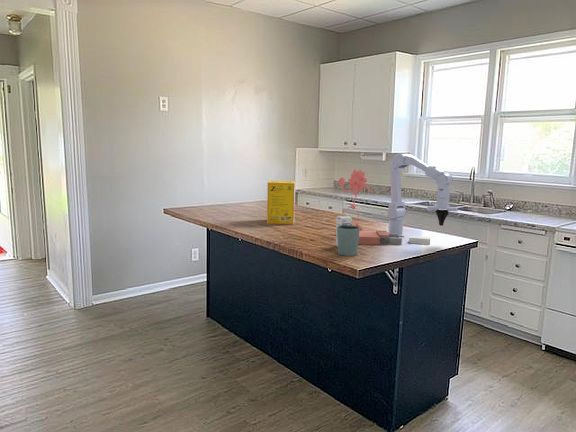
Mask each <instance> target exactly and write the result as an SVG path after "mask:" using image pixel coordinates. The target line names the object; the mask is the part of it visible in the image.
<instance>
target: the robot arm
mask: <svg viewBox="0 0 576 432" xmlns="http://www.w3.org/2000/svg"><path fill="white" fill-rule="evenodd" d="M391 159H392V161H391V165H390V167H389V178H390V179H389V181H390V199H391V200H390V203H389V204H388V210H387V212H386V213H387V214H386V215H387V217H388V218H389V222H388V231H387V233H389V234H398V238H402V237H405V235H404V234H403V231H404V230H403V229H404V220H405V219H404V217H406V215H407V210H406V208H405V203H404V202H403V199H402V194H403V193H402V175H401V172H402V171H403V170H404V169H405V168H407V167H408V166H411V165H412V166H414V167H415V168H418V170H421V171H423V172H424V174H425V176H426V177H427V178H430V179H431V180H432V181H435V183H436V184H437V191H436V192H437V193H436V205H432V206H431V205H430V206H429V205H428V206H426V211H431V212H432V211H435V214H436V216H437V220H438V225H439V226H441V227H442V226H444V223H445V220H446V218H447V217H448V215H449V213H450V212H459V211H458V210H459V207H457V206H450V205H449V204H450V191H451V190H450V189H451V184H452V183H453V175H452V174H450V173H445V171H444V170H440V169H439V168H438V166H436V165H428V164H426V163H425V162H423V161H422V160H421V159H419V158H417V157H416V156H415V155H412V154H410V153H397V154H395V155H394V156H392V158H391Z"/></svg>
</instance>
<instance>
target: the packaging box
mask: <svg viewBox="0 0 576 432" xmlns="http://www.w3.org/2000/svg"><path fill="white" fill-rule="evenodd" d="M266 184H267V189H266V191H267V194H266V195H267V198H266V199H267V200H266V201H267V202H266V224H267V225H268V224H269V225H295V207H296V206H295V204H296V199H295V198H296V181H291V180H269V181H268V182H267V183H266Z"/></svg>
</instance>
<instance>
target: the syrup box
mask: <svg viewBox="0 0 576 432" xmlns="http://www.w3.org/2000/svg"><path fill="white" fill-rule="evenodd" d="M335 223H336V226H335V246H336V247H338V240H337V226H341V225H351V226H353V217H352V216H350V215H337V216H336V220H335Z"/></svg>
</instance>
